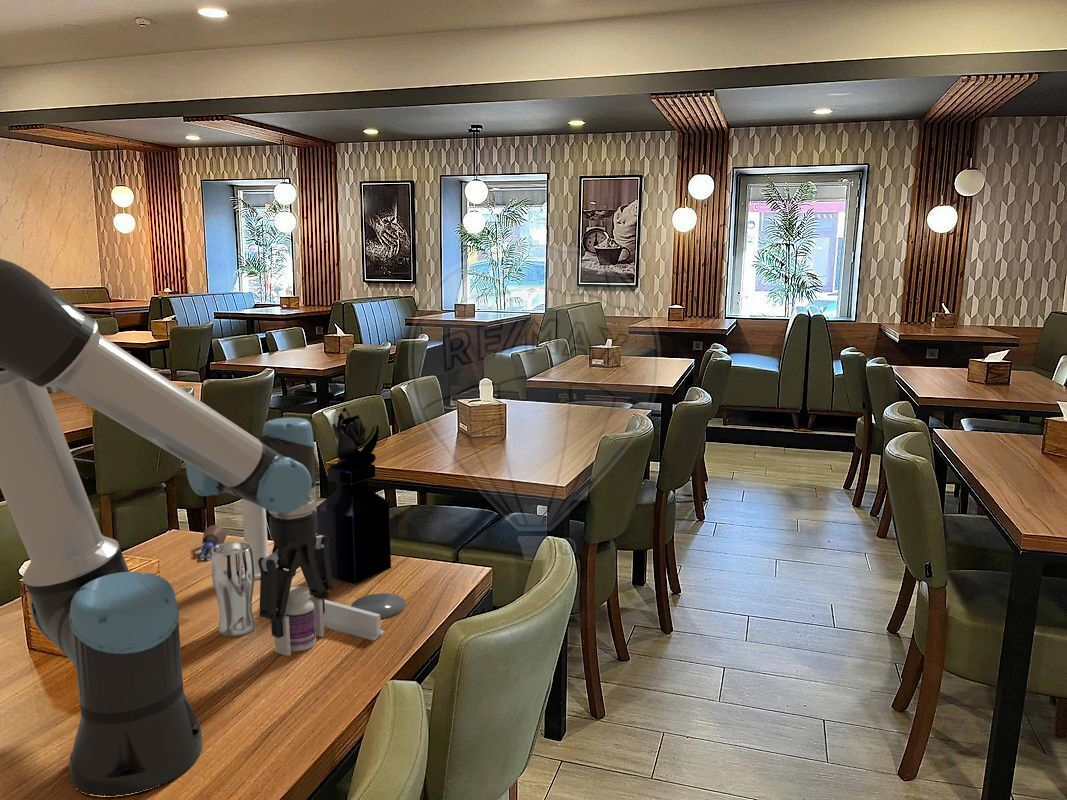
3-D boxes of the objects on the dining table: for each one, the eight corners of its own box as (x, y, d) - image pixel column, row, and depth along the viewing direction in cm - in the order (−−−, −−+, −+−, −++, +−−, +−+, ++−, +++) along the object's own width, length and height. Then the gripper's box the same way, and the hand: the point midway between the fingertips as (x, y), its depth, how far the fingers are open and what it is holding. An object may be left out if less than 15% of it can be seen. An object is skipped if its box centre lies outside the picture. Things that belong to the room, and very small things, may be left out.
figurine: (219, 567, 170) (229, 541, 181) (217, 546, 168) (227, 521, 180) (193, 569, 169) (204, 542, 180) (190, 548, 167) (202, 522, 179)
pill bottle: (323, 642, 132) (320, 588, 130) (298, 655, 127) (295, 600, 126) (301, 634, 135) (298, 582, 133) (276, 647, 130) (273, 592, 129)
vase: (361, 553, 173) (355, 398, 168) (400, 563, 167) (395, 403, 162) (312, 574, 161) (304, 408, 156) (353, 586, 155) (346, 414, 150)
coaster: (382, 623, 139) (382, 620, 139) (339, 611, 144) (339, 608, 143) (416, 602, 148) (416, 599, 147) (375, 592, 152) (375, 589, 152)
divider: (373, 641, 132) (372, 618, 132) (295, 618, 141) (294, 597, 140) (384, 633, 135) (384, 612, 134) (308, 612, 143) (306, 591, 143)
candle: (268, 579, 158) (261, 460, 154) (234, 579, 159) (226, 460, 155) (280, 566, 165) (274, 452, 161) (247, 566, 166) (240, 452, 161)
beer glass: (243, 640, 133) (238, 556, 130) (207, 636, 134) (201, 553, 132) (265, 622, 139) (260, 542, 137) (230, 618, 141) (225, 539, 138)
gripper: (262, 533, 117) (270, 675, 121) (352, 499, 134) (357, 624, 138) (227, 526, 120) (237, 664, 124) (319, 494, 138) (325, 616, 141)
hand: (300, 643), depth 131 cm, fingers open, 7 cm apart
